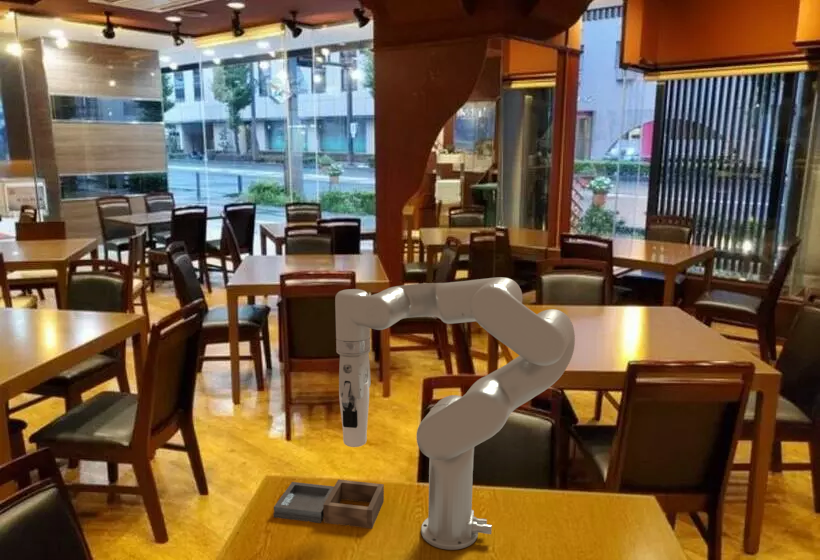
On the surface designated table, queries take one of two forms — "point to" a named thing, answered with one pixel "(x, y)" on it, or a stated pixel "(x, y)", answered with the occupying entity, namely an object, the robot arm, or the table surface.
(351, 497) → the frame
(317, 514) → the metal cradle
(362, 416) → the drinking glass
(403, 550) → the table surface
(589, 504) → the table surface
